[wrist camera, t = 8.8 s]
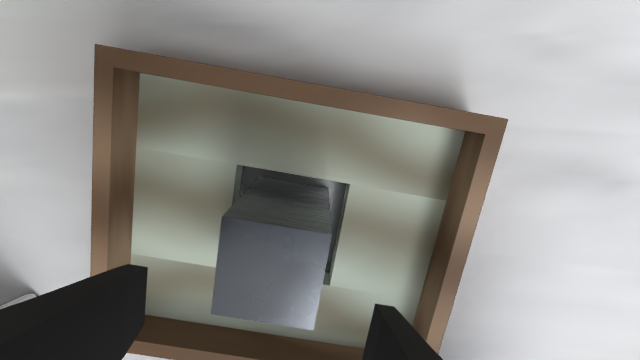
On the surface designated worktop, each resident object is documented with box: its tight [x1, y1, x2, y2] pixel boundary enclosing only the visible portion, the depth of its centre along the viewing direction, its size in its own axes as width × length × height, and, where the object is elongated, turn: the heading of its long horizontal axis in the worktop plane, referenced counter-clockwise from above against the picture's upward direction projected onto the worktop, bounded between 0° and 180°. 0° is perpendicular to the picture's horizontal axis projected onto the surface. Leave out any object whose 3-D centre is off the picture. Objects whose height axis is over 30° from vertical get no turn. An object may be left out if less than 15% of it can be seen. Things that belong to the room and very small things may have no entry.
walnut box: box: [90, 44, 508, 360], centre depth 17 cm, size 15×18×4 cm
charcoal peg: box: [211, 177, 332, 330], centre depth 15 cm, size 4×4×7 cm
